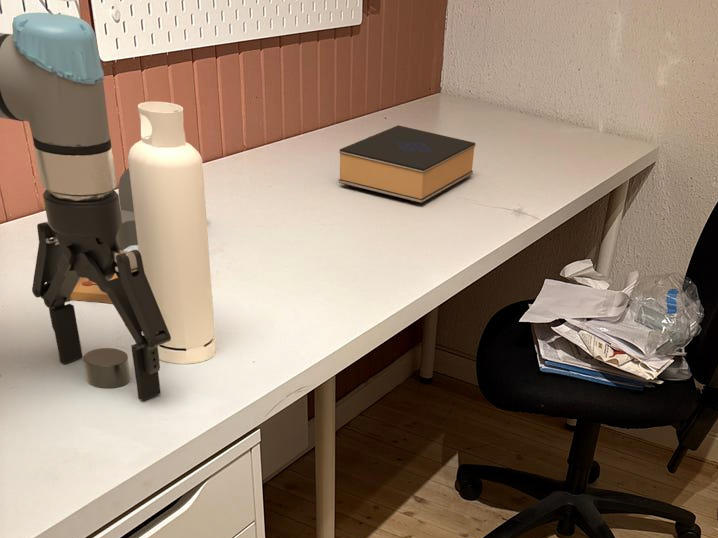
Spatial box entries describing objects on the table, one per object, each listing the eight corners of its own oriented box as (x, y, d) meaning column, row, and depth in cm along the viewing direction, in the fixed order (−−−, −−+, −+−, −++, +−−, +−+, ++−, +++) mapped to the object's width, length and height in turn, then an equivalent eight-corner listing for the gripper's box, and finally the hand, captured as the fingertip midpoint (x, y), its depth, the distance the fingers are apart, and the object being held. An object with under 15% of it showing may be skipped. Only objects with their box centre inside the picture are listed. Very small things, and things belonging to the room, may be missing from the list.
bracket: (208, 223, 158) (203, 153, 151) (162, 258, 145) (154, 183, 138) (153, 213, 159) (145, 143, 152) (101, 247, 145) (90, 172, 138)
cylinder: (81, 386, 113) (78, 364, 111) (93, 367, 116) (89, 346, 114) (125, 390, 113) (122, 367, 111) (135, 371, 117) (132, 349, 115)
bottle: (140, 342, 123) (109, 99, 105) (199, 332, 127) (179, 96, 109) (167, 368, 118) (140, 118, 100) (227, 356, 122) (211, 115, 104)
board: (60, 298, 130) (58, 289, 129) (91, 257, 142) (90, 248, 141) (180, 309, 132) (179, 300, 131) (201, 268, 144) (200, 259, 143)
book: (338, 187, 181) (339, 149, 177) (396, 160, 199) (397, 125, 195) (421, 207, 177) (423, 169, 173) (472, 178, 195) (475, 142, 191)
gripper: (192, 213, 99) (208, 401, 113) (32, 155, 108) (65, 336, 121) (135, 228, 94) (159, 423, 108) (-28, 166, 103) (14, 354, 116)
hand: (109, 377), depth 115 cm, fingers open, 13 cm apart
